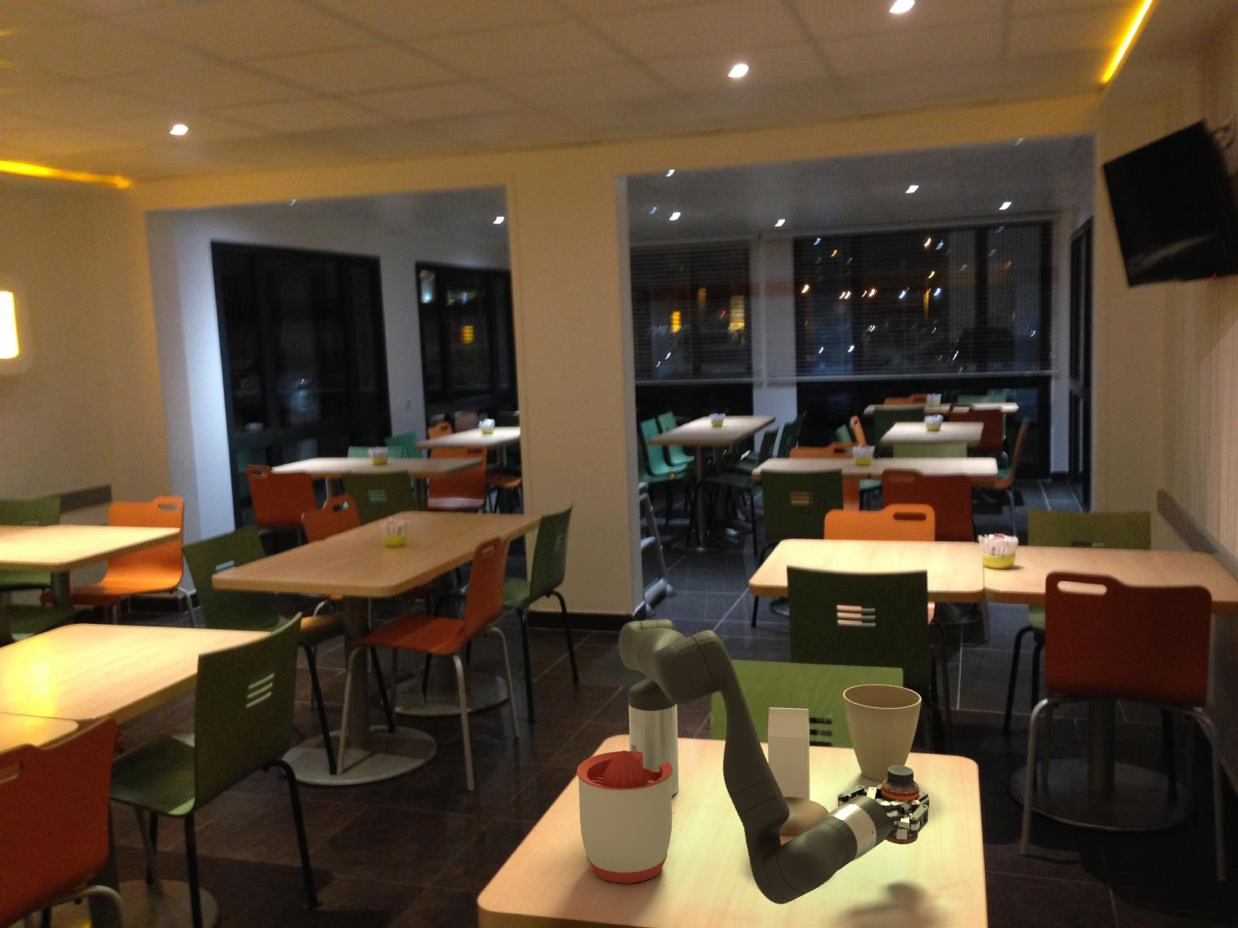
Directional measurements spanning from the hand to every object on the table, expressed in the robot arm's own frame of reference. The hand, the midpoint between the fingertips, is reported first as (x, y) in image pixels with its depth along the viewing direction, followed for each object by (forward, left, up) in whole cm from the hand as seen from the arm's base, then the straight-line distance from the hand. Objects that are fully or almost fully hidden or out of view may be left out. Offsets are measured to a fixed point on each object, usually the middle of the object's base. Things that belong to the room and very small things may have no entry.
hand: (907, 793), depth 173 cm
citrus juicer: (-45, +4, -12) cm, 47 cm away
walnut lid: (-18, +7, -7) cm, 20 cm away
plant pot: (+6, +37, -12) cm, 40 cm away
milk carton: (-15, +23, -12) cm, 30 cm away
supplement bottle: (-2, -2, -7) cm, 7 cm away
